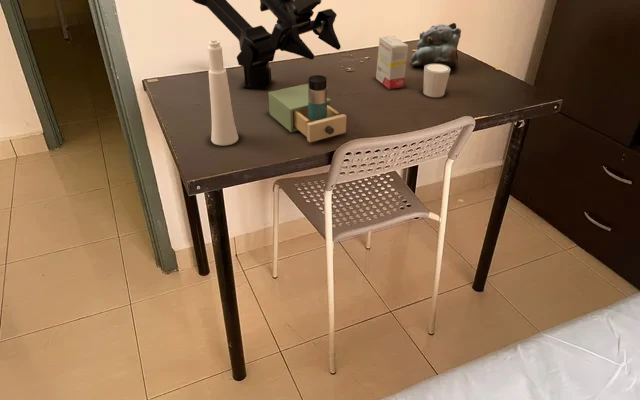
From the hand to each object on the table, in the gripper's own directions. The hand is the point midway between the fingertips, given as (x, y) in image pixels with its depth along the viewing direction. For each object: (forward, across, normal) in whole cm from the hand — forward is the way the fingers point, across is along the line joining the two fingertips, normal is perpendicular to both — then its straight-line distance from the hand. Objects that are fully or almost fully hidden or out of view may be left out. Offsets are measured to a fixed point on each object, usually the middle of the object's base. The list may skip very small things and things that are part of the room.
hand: (326, 53), depth 117 cm
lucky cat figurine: (+9, +46, +12) cm, 49 cm away
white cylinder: (+19, +29, +6) cm, 35 cm away
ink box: (+8, +26, +13) cm, 30 cm away
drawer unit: (+5, -7, +14) cm, 17 cm away
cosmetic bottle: (+1, -26, +16) cm, 31 cm away
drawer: (+12, -10, +9) cm, 18 cm away
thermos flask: (+12, -10, +8) cm, 17 cm away
